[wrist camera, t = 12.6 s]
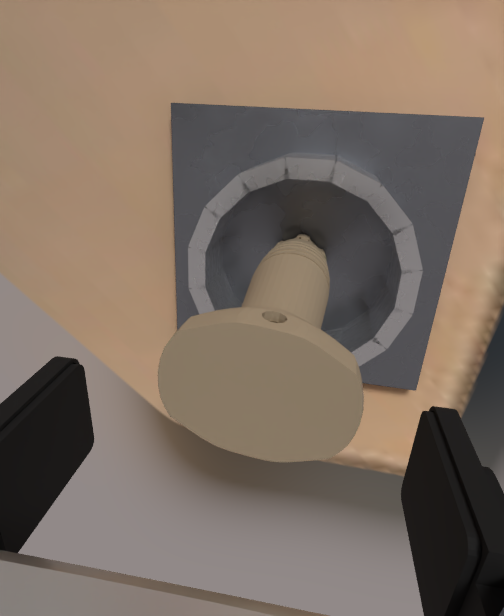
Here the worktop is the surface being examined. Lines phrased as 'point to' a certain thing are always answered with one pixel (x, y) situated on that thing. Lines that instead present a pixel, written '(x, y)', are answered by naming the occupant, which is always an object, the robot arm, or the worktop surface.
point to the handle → (267, 366)
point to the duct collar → (324, 216)
